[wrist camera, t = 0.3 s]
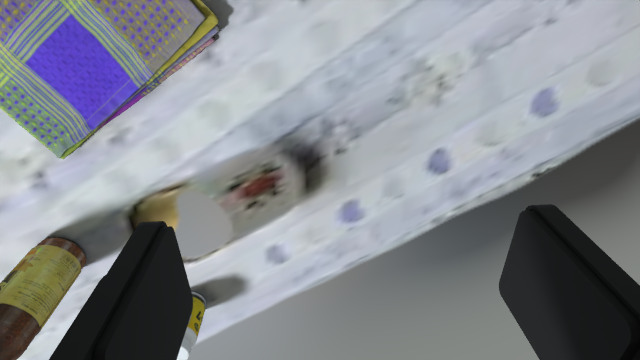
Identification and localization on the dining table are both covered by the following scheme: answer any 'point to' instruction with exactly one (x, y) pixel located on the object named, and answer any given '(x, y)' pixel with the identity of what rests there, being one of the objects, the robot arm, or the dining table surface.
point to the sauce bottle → (35, 292)
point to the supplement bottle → (192, 326)
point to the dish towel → (91, 60)
